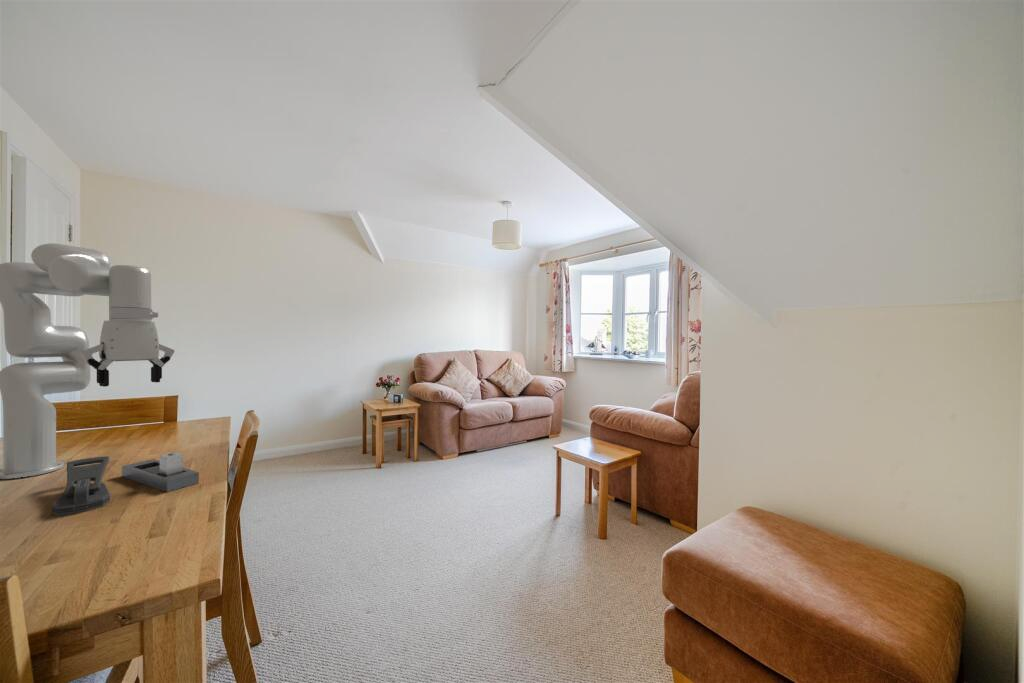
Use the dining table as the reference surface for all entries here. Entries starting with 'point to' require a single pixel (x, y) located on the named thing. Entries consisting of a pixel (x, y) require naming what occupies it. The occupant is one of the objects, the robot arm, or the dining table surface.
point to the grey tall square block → (171, 464)
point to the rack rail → (158, 476)
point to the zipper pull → (83, 487)
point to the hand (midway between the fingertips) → (130, 384)
